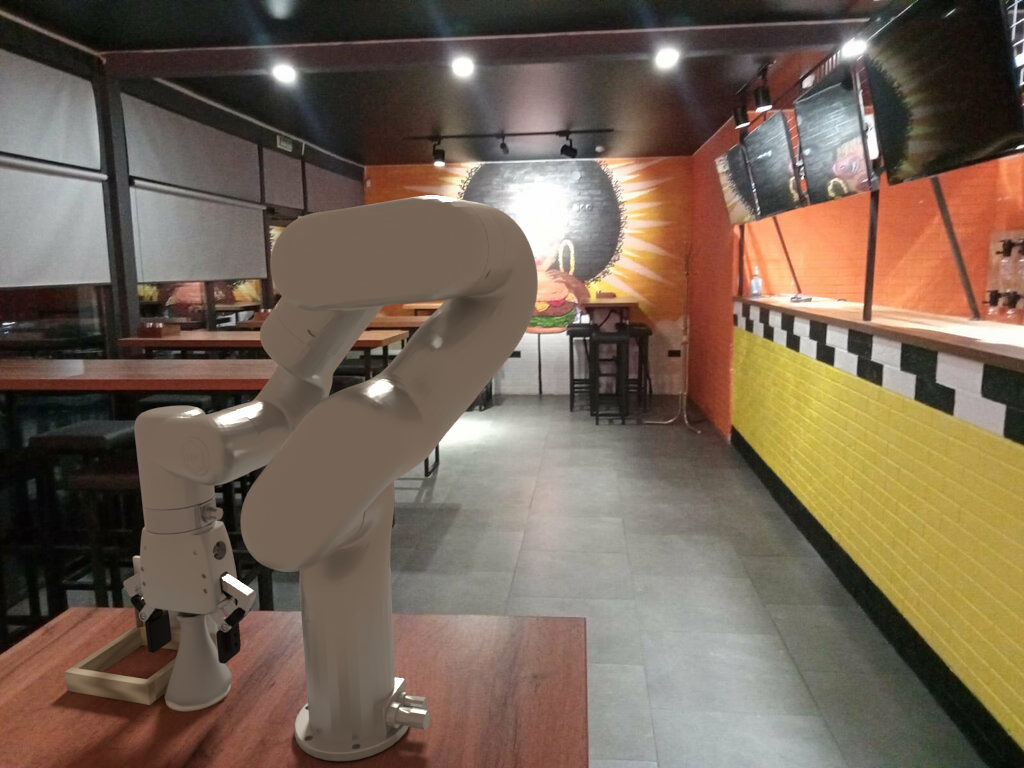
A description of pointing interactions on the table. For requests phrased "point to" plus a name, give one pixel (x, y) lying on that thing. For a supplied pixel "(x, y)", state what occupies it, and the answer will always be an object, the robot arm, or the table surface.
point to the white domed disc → (196, 706)
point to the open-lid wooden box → (90, 670)
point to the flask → (196, 665)
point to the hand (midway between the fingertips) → (194, 652)
